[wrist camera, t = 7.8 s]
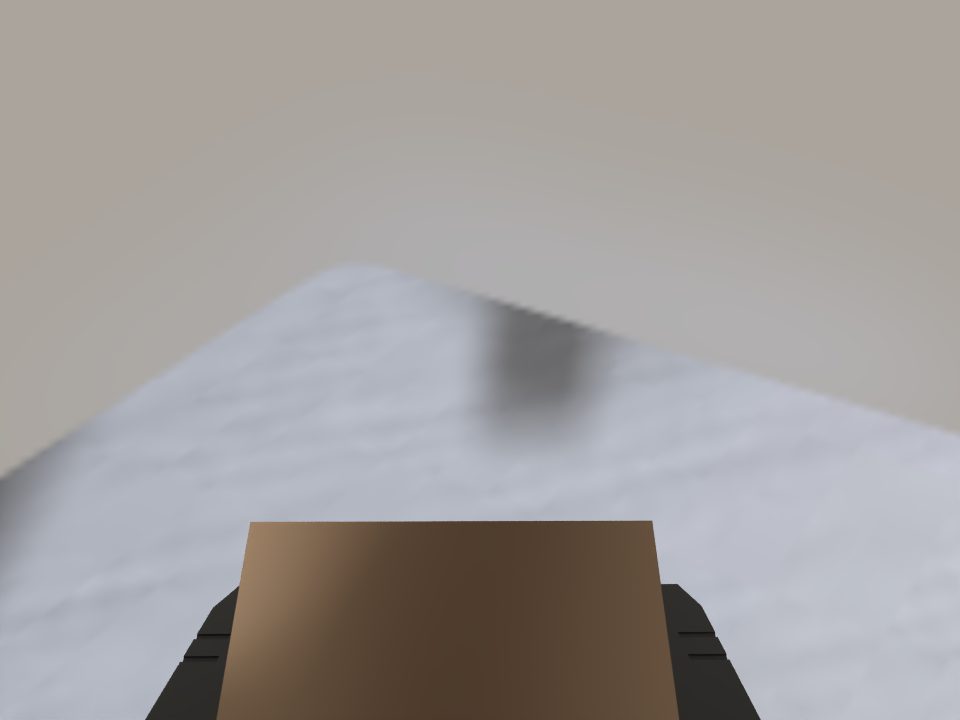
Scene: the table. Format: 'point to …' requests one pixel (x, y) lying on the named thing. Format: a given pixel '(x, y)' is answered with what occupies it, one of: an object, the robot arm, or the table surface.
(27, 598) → the table surface
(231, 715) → the walnut block
